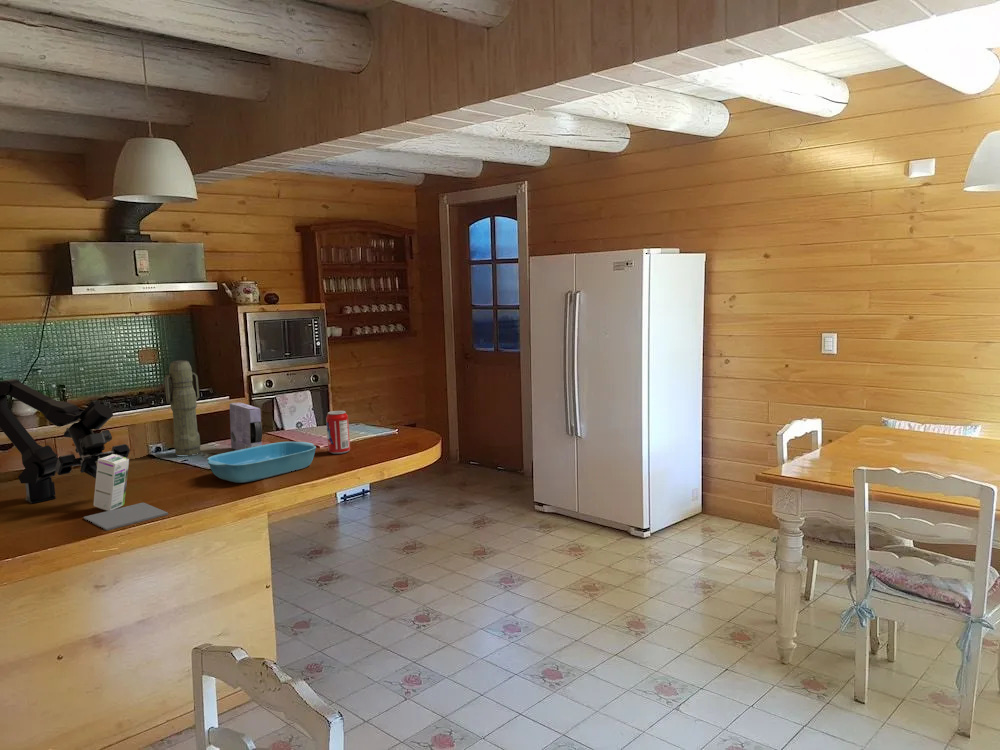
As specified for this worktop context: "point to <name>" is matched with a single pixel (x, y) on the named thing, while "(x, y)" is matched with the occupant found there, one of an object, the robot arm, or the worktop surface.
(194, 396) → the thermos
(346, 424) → the soda can
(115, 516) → the mat
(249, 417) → the cake pan box
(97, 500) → the syrup box
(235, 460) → the casserole dish
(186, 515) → the worktop surface
